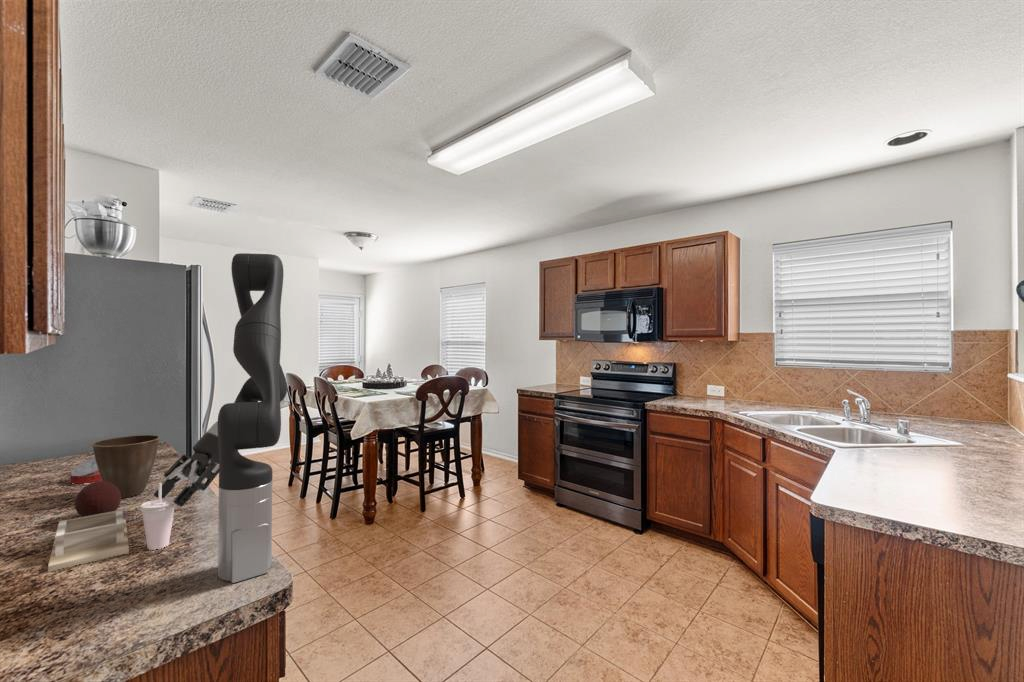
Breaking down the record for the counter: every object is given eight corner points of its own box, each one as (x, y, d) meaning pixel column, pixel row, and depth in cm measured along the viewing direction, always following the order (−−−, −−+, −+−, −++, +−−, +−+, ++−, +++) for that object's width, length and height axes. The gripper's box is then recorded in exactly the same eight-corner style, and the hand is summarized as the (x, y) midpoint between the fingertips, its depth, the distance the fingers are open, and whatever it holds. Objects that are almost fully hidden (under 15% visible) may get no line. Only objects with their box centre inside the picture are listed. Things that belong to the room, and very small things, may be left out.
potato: (72, 530, 108) (73, 491, 108) (76, 515, 117) (76, 479, 117) (120, 520, 113) (121, 483, 113) (120, 507, 122) (121, 473, 122)
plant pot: (80, 506, 123) (80, 447, 123) (108, 489, 137) (109, 436, 137) (146, 500, 128) (146, 444, 128) (167, 484, 142) (167, 433, 142)
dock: (128, 553, 96) (128, 528, 96) (48, 572, 88) (48, 545, 88) (125, 524, 111) (125, 503, 111) (56, 538, 103) (56, 515, 103)
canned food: (107, 494, 146) (109, 470, 143) (65, 497, 140) (65, 472, 137) (115, 470, 154) (117, 447, 151) (75, 472, 149) (76, 448, 146)
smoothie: (146, 555, 95) (147, 489, 95) (134, 548, 98) (135, 484, 98) (181, 544, 100) (182, 481, 101) (169, 537, 104) (169, 476, 104)
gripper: (193, 428, 112) (137, 487, 102) (226, 434, 105) (170, 498, 95) (215, 445, 117) (164, 503, 107) (248, 452, 110) (197, 515, 100)
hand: (167, 501), depth 101 cm, fingers open, 8 cm apart
